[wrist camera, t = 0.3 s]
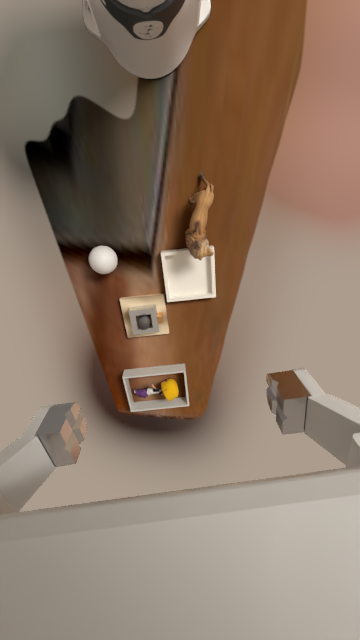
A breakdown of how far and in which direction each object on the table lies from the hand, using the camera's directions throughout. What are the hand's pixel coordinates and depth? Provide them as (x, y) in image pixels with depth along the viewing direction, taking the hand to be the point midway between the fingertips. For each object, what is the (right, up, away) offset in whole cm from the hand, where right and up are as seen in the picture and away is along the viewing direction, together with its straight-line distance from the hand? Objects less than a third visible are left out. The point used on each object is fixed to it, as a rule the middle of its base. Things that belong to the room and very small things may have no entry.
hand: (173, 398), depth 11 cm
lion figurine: (+4, +24, +41) cm, 47 cm away
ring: (-8, +4, +49) cm, 49 cm away
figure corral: (-6, -14, +59) cm, 61 cm away
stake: (-8, +5, +49) cm, 50 cm away
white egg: (-16, +16, +43) cm, 49 cm away
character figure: (-6, -14, +59) cm, 61 cm away
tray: (+2, +14, +45) cm, 48 cm away
